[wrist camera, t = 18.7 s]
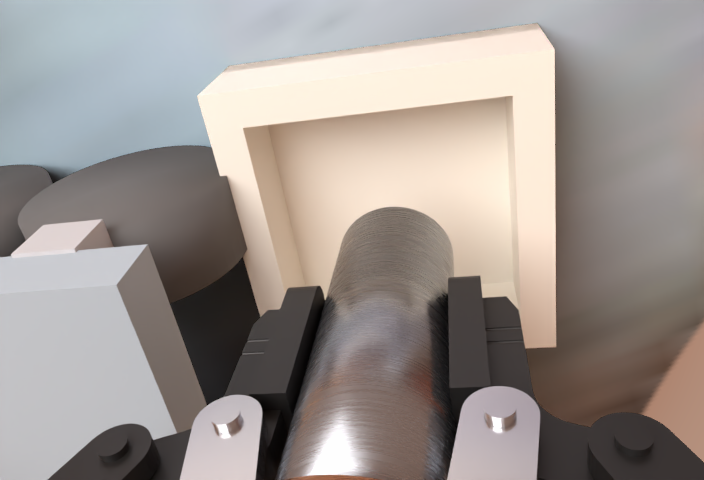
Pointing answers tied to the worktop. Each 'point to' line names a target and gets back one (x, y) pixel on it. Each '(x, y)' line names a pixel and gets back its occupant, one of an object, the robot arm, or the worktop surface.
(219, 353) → the worktop surface
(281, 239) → the tray
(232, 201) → the trolley
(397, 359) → the pin
